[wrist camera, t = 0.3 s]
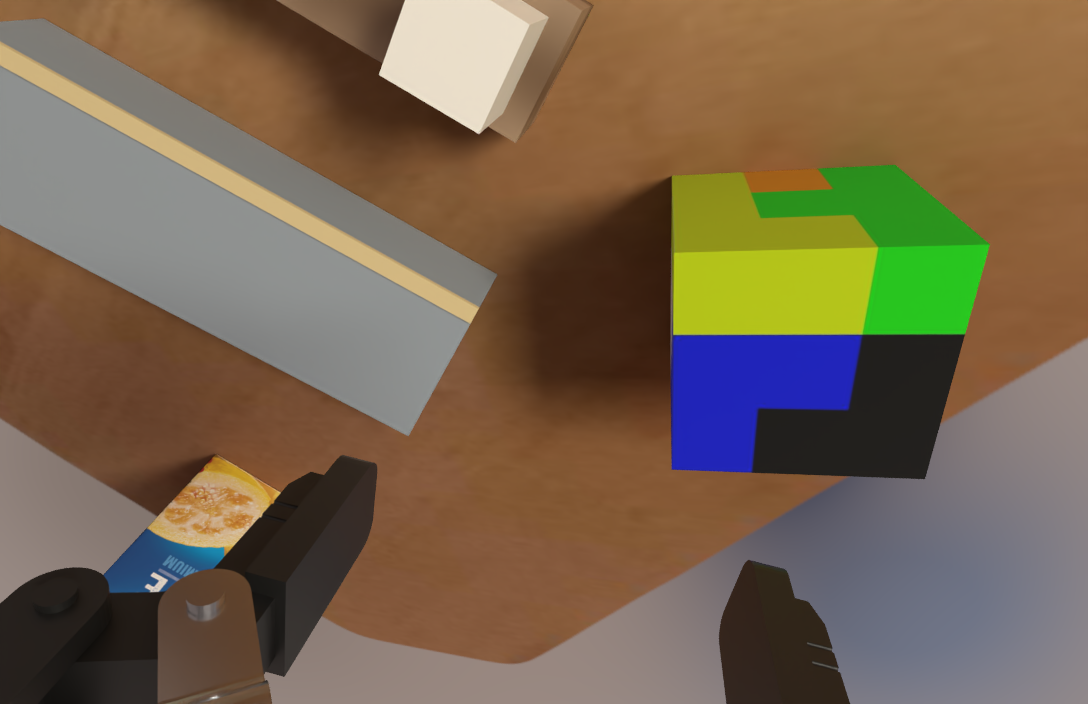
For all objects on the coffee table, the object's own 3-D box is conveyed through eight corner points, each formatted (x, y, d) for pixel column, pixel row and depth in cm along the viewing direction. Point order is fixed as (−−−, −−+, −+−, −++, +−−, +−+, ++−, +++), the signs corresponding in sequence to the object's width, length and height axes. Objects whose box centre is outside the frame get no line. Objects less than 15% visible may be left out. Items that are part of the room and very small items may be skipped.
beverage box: (214, 452, 46) (-90, 778, 27) (344, 530, 48) (142, 881, 30) (187, 502, 49) (-101, 821, 31) (308, 572, 52) (108, 911, 33)
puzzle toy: (670, 351, 36) (671, 469, 27) (671, 175, 31) (674, 252, 22) (860, 352, 34) (924, 478, 25) (894, 164, 29) (989, 244, 20)
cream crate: (455, -42, 23) (420, -44, 20) (548, 17, 24) (529, 24, 21) (416, 61, 26) (378, 74, 22) (503, 113, 26) (478, 134, 23)
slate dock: (43, 18, 32) (-36, 24, 28) (497, 274, 35) (478, 308, 31) (34, 187, 37) (-34, 210, 33) (429, 396, 40) (407, 438, 36)
